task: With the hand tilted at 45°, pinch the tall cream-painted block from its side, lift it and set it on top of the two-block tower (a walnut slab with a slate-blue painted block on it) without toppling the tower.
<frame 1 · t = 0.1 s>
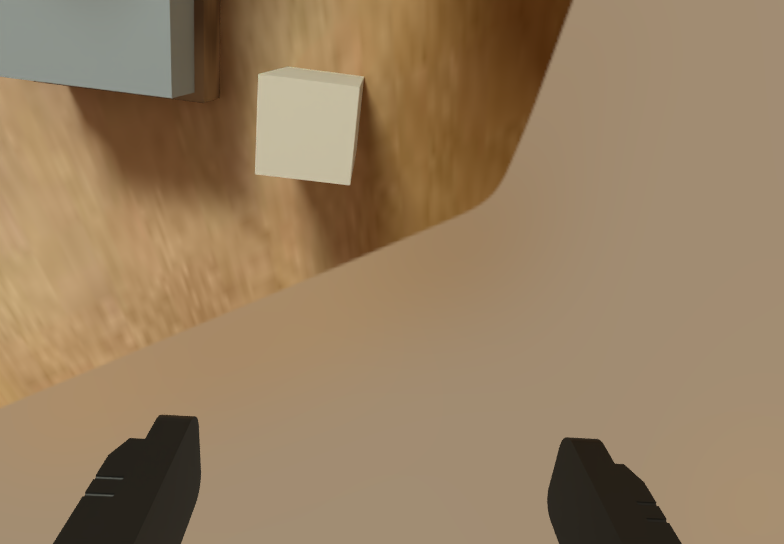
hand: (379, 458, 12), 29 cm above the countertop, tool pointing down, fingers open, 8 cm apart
walnut base block: (142, 5, 35), on the countertop
slate-blue top block: (113, 0, 32), point 4 cm above the countertop
cream block: (323, 110, 38), on the countertop
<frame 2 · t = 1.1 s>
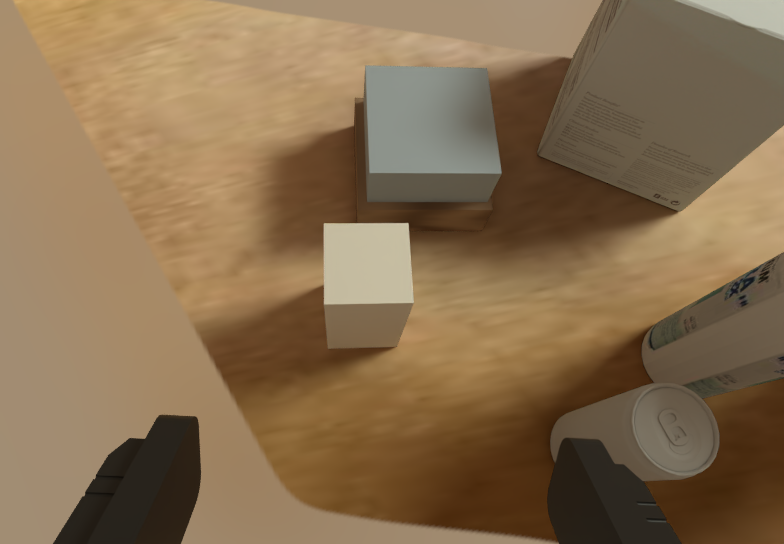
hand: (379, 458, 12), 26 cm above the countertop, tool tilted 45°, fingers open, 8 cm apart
walnut base block: (415, 179, 46), on the countertop, touching slate-blue top block
spray can: (678, 359, 42), on the countertop
slate-blue top block: (423, 150, 43), point 4 cm above the countertop, touching walnut base block
beverage can: (578, 447, 39), on the countertop
cream block: (361, 314, 41), on the countertop
supplement box: (622, 129, 50), on the countertop
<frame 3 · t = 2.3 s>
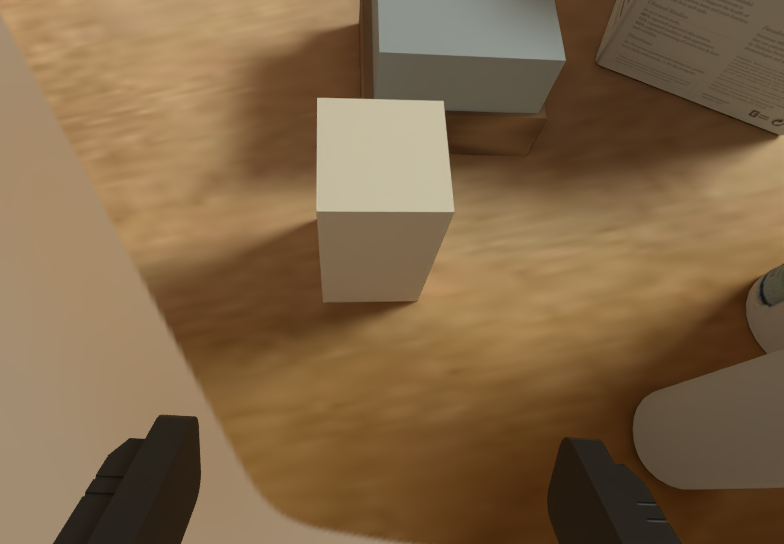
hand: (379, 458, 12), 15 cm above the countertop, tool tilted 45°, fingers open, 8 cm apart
walnut base block: (438, 91, 35), on the countertop
slate-blue top block: (451, 46, 32), point 4 cm above the countertop
beverage can: (669, 439, 28), on the countertop
cream block: (369, 258, 30), on the countertop
supplement box: (701, 37, 39), on the countertop
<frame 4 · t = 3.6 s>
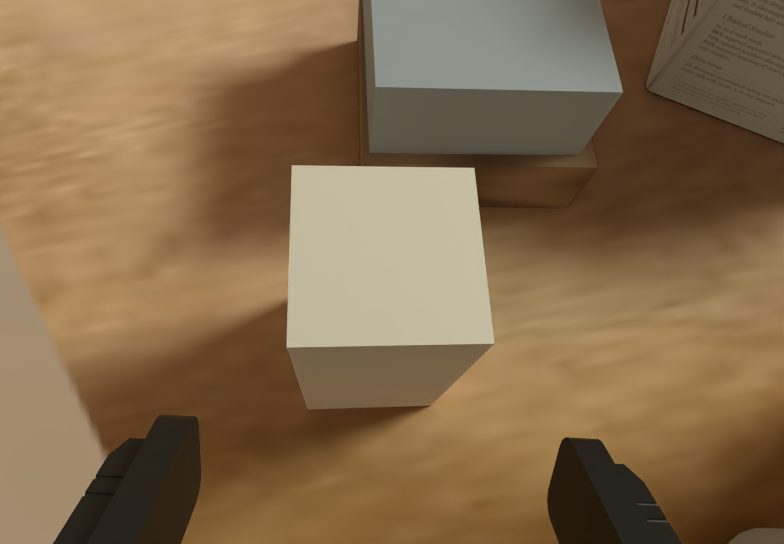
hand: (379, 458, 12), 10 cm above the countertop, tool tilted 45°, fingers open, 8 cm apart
walnut base block: (455, 125, 29), on the countertop, touching slate-blue top block
slate-blue top block: (465, 69, 25), point 4 cm above the countertop, touching walnut base block
cream block: (368, 347, 23), on the countertop
supplement box: (770, 56, 32), on the countertop
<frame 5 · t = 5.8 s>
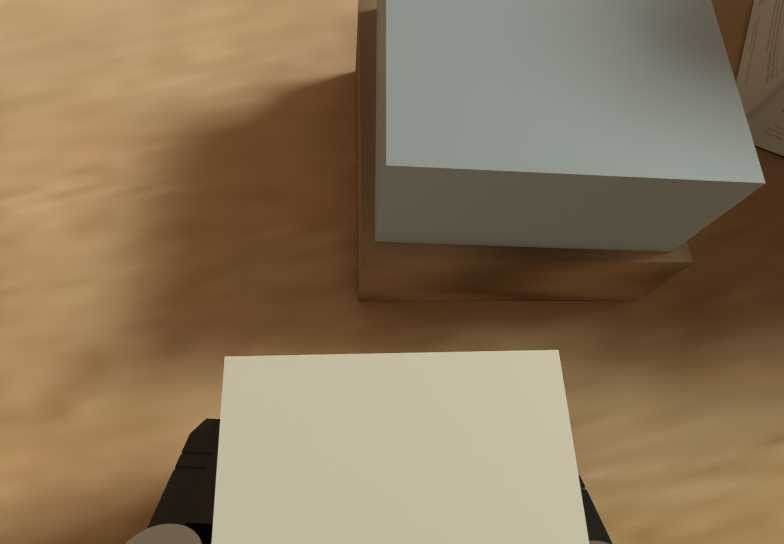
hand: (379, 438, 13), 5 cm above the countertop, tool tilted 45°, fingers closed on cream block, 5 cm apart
walnut base block: (483, 183, 22), on the countertop
slate-blue top block: (513, 121, 18), point 4 cm above the countertop
cream block: (366, 516, 17), on the countertop, touching gripper
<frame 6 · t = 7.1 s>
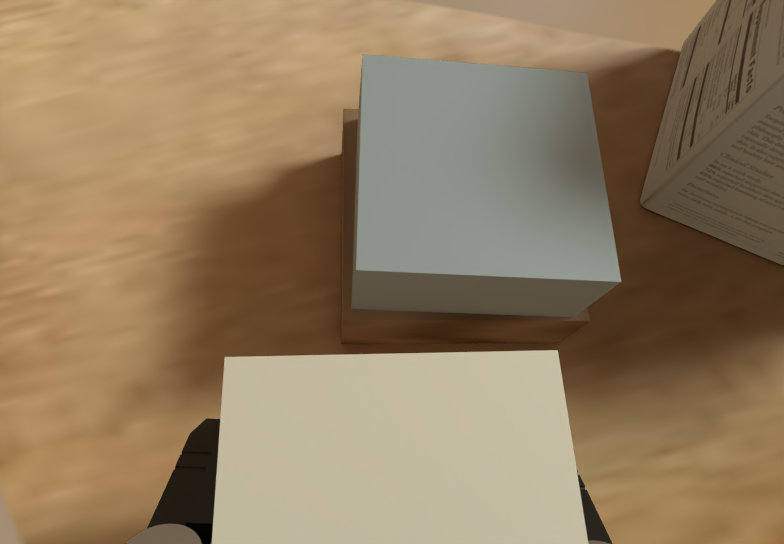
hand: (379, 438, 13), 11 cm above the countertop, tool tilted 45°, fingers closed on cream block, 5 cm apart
walnut base block: (442, 247, 28), on the countertop, touching slate-blue top block
slate-blue top block: (459, 213, 24), point 4 cm above the countertop, touching walnut base block
cream block: (366, 516, 17), point 6 cm above the countertop, touching gripper
supplement box: (767, 164, 31), on the countertop
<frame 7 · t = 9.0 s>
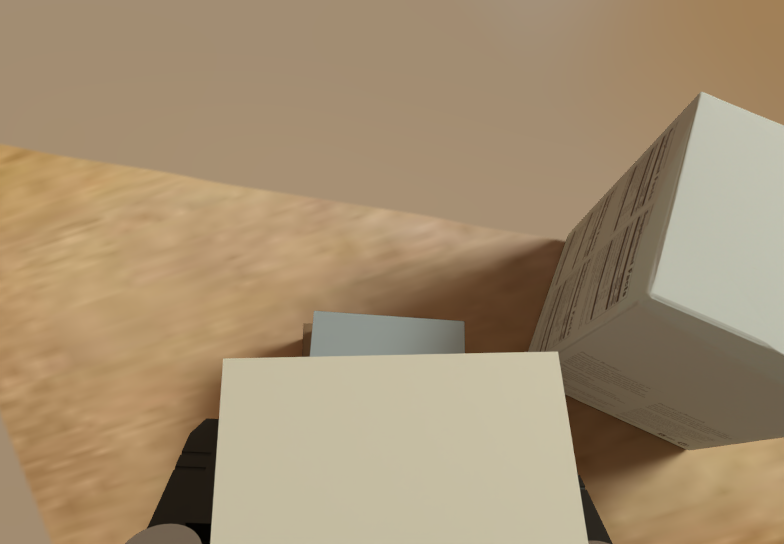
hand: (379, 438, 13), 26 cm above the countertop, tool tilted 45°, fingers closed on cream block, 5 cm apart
slate-blue top block: (380, 403, 35), point 4 cm above the countertop
cream block: (366, 517, 17), point 21 cm above the countertop, touching gripper
supplement box: (622, 335, 43), on the countertop
when the fingers open (13 cm above the countertop, at t = 12.7 s): cream block moves 1 cm, resting on slate-blue top block.
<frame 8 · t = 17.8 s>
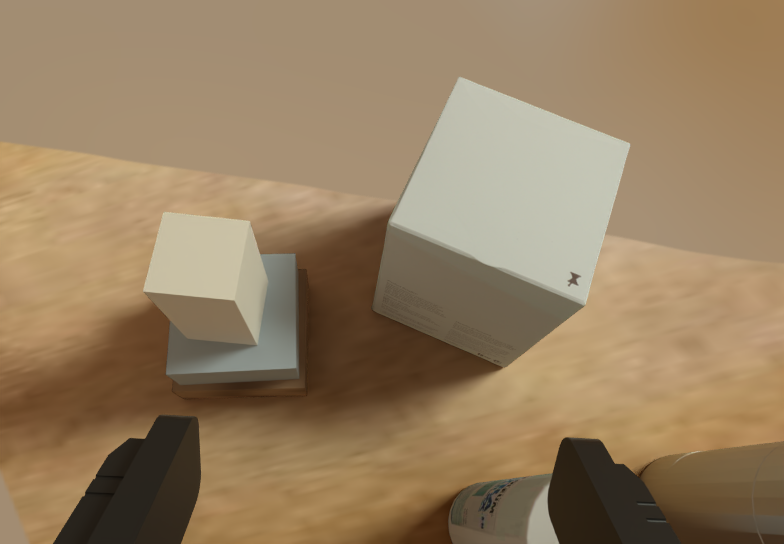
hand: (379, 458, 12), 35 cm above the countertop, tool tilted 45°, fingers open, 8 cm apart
walnut base block: (249, 340, 48), on the countertop, touching slate-blue top block
spray can: (485, 524, 44), on the countertop
slate-blue top block: (242, 326, 45), point 4 cm above the countertop, touching cream block, walnut base block
cream block: (229, 309, 41), point 8 cm above the countertop, touching slate-blue top block
supplement box: (460, 279, 52), on the countertop
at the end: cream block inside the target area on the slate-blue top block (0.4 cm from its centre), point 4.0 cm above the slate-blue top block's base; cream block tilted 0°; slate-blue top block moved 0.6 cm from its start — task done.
